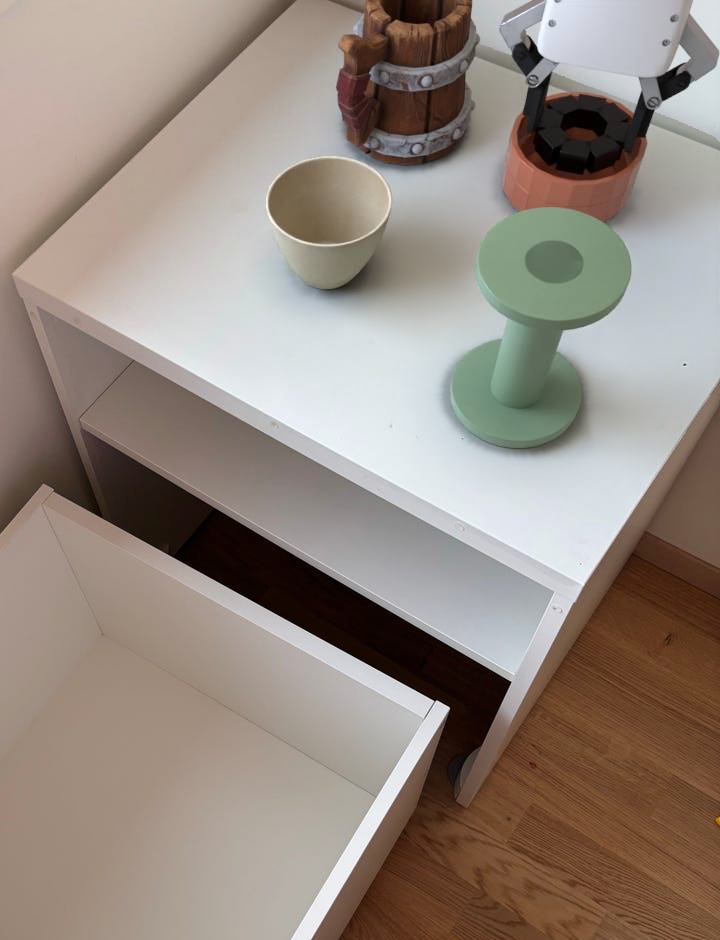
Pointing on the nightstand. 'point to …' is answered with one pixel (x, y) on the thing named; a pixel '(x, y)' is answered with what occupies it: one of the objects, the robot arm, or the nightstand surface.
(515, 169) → the bowl
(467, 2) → the mug
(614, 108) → the ring
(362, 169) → the flower pot
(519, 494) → the nightstand surface
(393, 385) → the nightstand surface
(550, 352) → the stand
